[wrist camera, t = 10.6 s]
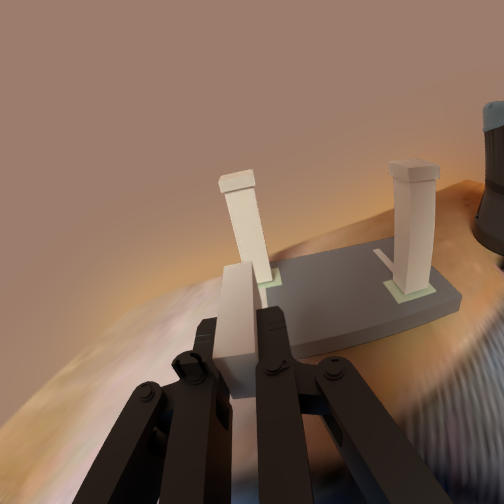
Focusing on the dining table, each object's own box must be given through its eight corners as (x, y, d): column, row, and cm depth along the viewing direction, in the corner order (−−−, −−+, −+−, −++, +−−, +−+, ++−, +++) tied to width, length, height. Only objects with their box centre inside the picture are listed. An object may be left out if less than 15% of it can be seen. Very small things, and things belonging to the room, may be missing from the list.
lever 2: (415, 271, 27) (417, 158, 21) (431, 288, 24) (439, 165, 18) (389, 278, 27) (387, 161, 22) (403, 297, 24) (407, 168, 18)
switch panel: (397, 248, 37) (398, 235, 36) (458, 310, 22) (462, 294, 22) (227, 283, 39) (223, 270, 38) (218, 371, 24) (212, 357, 23)
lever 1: (272, 266, 35) (252, 168, 30) (275, 281, 32) (253, 173, 26) (245, 272, 35) (221, 175, 30) (245, 287, 32) (218, 181, 27)
